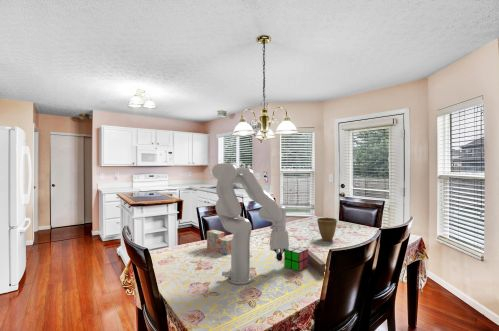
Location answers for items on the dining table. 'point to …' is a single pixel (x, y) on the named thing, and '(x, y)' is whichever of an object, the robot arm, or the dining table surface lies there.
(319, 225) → the plant pot
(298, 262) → the puzzle cube
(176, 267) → the dining table surface
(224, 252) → the stack of blocks
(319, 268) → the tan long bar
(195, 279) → the dining table surface
